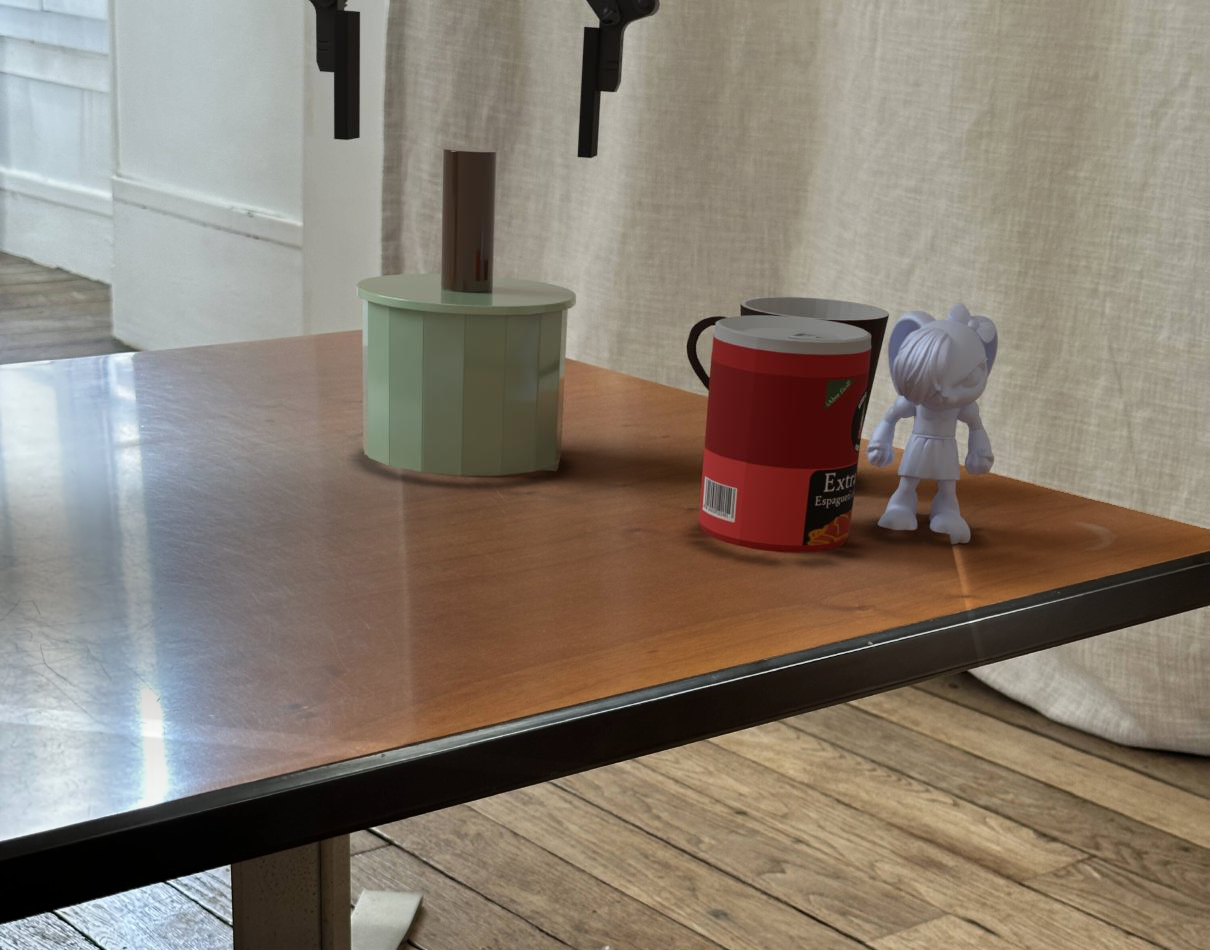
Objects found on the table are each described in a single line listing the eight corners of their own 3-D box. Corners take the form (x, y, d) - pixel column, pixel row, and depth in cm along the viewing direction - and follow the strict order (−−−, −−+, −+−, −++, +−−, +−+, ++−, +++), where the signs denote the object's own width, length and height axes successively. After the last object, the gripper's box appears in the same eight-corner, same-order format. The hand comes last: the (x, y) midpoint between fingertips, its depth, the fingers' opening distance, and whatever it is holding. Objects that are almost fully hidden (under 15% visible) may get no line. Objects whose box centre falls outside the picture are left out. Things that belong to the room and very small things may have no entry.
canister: (342, 475, 98) (340, 304, 94) (390, 433, 108) (390, 277, 104) (542, 492, 97) (549, 320, 93) (571, 448, 107) (579, 292, 103)
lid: (330, 315, 94) (329, 148, 90) (385, 286, 105) (386, 136, 102) (558, 333, 93) (565, 164, 89) (588, 301, 104) (596, 151, 101)
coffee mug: (898, 488, 102) (920, 316, 98) (788, 502, 98) (806, 322, 94) (775, 446, 111) (790, 287, 107) (668, 457, 107) (679, 291, 102)
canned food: (834, 570, 86) (860, 346, 81) (680, 549, 88) (696, 329, 83) (859, 534, 92) (884, 325, 88) (715, 515, 94) (732, 309, 90)
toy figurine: (858, 540, 91) (886, 308, 86) (857, 510, 97) (883, 292, 92) (989, 551, 91) (1025, 318, 86) (980, 521, 96) (1013, 301, 91)
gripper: (728, -276, 89) (694, 159, 98) (261, -300, 91) (268, 128, 100) (719, -303, 82) (683, 168, 91) (214, -328, 84) (226, 134, 93)
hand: (466, 148), depth 95 cm, fingers open, 13 cm apart
